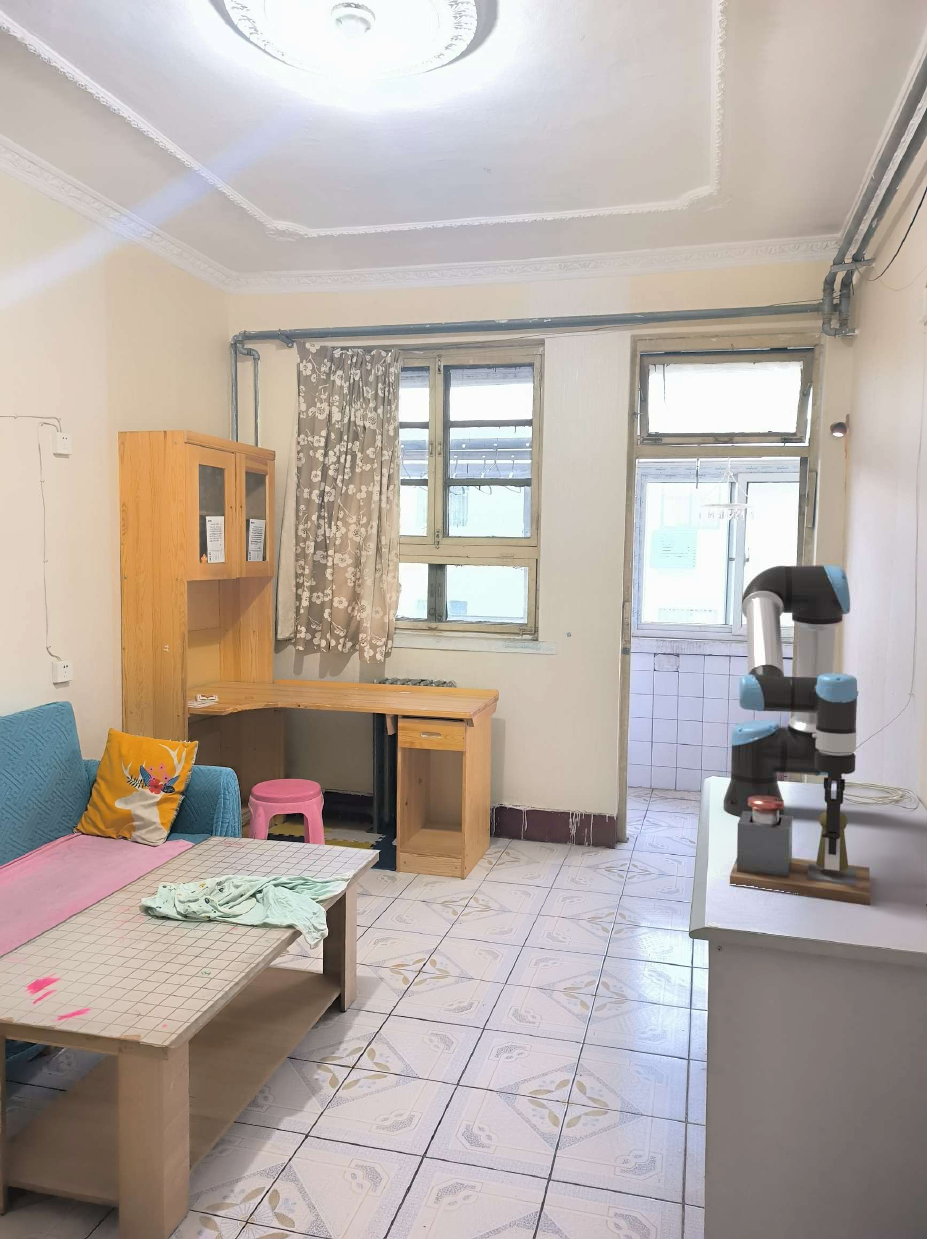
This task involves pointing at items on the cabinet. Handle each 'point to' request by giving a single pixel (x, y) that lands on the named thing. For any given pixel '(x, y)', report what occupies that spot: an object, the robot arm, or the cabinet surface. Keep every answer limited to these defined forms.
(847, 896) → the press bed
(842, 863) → the olive knobbed peg
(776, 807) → the press plunger
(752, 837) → the grey push button box
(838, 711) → the robot arm
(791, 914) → the cabinet surface
